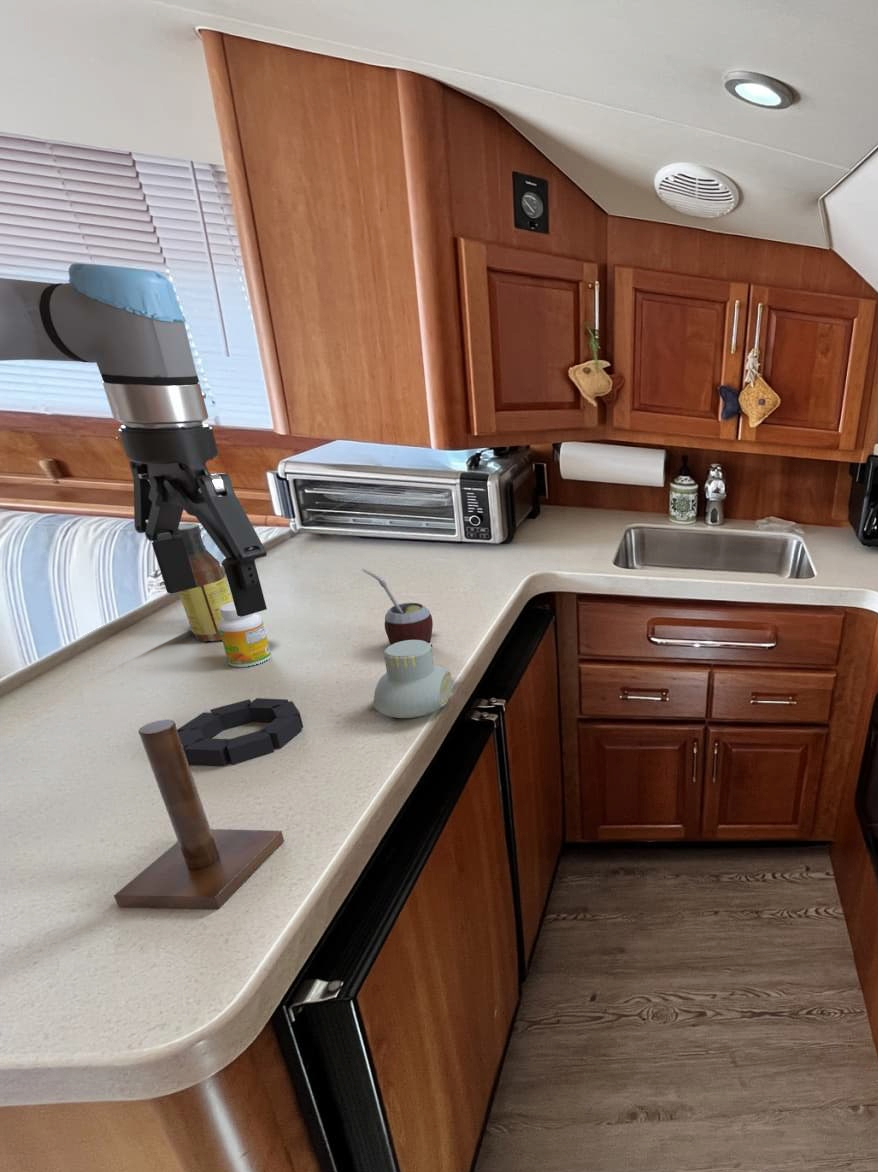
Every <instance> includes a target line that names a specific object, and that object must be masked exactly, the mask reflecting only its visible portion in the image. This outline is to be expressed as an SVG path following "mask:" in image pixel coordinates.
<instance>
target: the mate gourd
mask: <svg viewBox="0 0 878 1172" xmlns="http://www.w3.org/2000/svg"><path fill="white" fill-rule="evenodd" d="M361 571H362V572H364V573H366V574H367V575H369V576H371V577H373V578H374V579H375V580H377V581H378V582H379V585H380V586H381V588H383V589H384V591H385V592H386V594H387V597H389V599H390V600H391V602H392V604H393V606H392V607H390V608H389V609H388V610H387V611H386V614H385V617H384V630H385V634H386V636H387V640H388V642H389V644H390V645H392V644H394V643H397V642H401V641H406V640H422V641H425V642H427V643H430V642H432V634H433V628H434V627H433V626H434V621H433V617H432V614H431V611H430V610H429V609H428V608H427V607H426V606H424V605H423V604H422V603H419V602H404V603H399V604H398V602H397V601H396V599H395V597H394V595H393V594H392V592H391V591H390V589H389V587H388V584H387V582H386V581H385V579H382V578H381V577H380V576H379V575H377V574H376V573H373V572H371V571H369V570H367V569H365V568H362V569H361Z"/></svg>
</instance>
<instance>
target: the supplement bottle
mask: <svg viewBox="0 0 878 1172" xmlns="http://www.w3.org/2000/svg"><path fill="white" fill-rule="evenodd" d="M219 609H220V613H221V616H222V617H223V619H222V620H221V621H220V622H219V623H218V627H219V631H220V634H221V638H222V641H221V642H222V646H223V648H224V652H225V656H226V660H227V663H228V665H230V666H231V667H234V668H249V667H248V666H250V667H253V666H252V665H255V666H257V665H256V664H258V665H261V664H263V663H265V662H267V661H268V660H270V659H271V657H272V651H271V647H270V644H269V640H268V637H267V632H266V629H265V624H264V621H263V618H262V616H261V615H259V614H257V613H253V614H250V615H246V616H243V617H240V616H237V612H236V609H235V605H234V601H233V602H231V603H227V604H224V605H222V606H221V607H220V608H219ZM266 660H267V661H266ZM264 661H265V662H264ZM262 662H263V663H262ZM260 663H261V664H260Z"/></svg>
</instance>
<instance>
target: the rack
mask: <svg viewBox="0 0 878 1172" xmlns="http://www.w3.org/2000/svg"><path fill="white" fill-rule="evenodd" d="M177 729H178V728H177V724H176V721H174V720H172V719H161V720H155V721H151V722H149V723H147V724H145V725H143V726H141V727H140V728H139V729H138V735H139V738H140V740H141V743H142V745H143V748H144V751H145V754H146V757H147V759H148V762H149V765H150V768H151V770H152V773H153V776H154V779H155V782H156V784H157V787H158V790H159V792H160V795H161V799H162V801H163V804H164V807H165V810H166V812H167V815H168V817H169V821H170V823H171V826H172V829H173V832H174V834H175V837H176V839H177V841H176V842H175V843H174V844H173V845H172V846H171V847H169V848H168V849H167V850H166V851H165V852H164V853H162V854H161V855H160V856H159V857H158V858H156V859H155V860H154V861H153V862H151V864H149V865H148V866H147V867H146V868H144V870H142V872H140V873H138V875H136V876H135V877H134V878H132V880H130V881H129V882H128V883H127V884H126V885H125V886H123V887H122V888H121V889H120V890H119V891H117V893H115V894H114V895H113V897H114V900H115V902H116V905H117V907H118V908H138V909H139V908H140V909H141V908H142V909H196V910H197V909H198V910H199V909H200V910H201V909H202V910H203V909H204V910H205V909H207V910H210V909H211V910H219V909H221V907H222V906H223V905H224V904H225V903H227V901H228V900H229V899H230V898H231V897H232V896H233V895H234V894H235V893H236V892H237V891H238V890H239V889H240V888H241V887H242V886H243V885H244V884H245V883H246V881H248V880H249V878H250V877H251V876H253V874H255V872H256V871H257V870H258V869H260V868H261V866H262V865H263V864H264V863H266V861H267V860H268V859H269V858H270V857H271V856H272V855H273V853H275V852H276V850H278V849H279V847H281V845H283V844H284V842H285V838H284V835H283V831H282V830H268V829H267V830H266V829H263V830H262V829H234V828H233V829H231V828H230V829H229V828H227V829H226V828H225V829H224V828H211V826H210V824H209V820H208V818H207V814H206V812H205V808H204V806H203V803H202V800H201V797H200V793H199V791H198V787H197V784H196V782H195V778H194V776H193V772H192V770H191V767H190V766H191V765H189V763H188V761H187V758H186V755H185V752H184V749H183V746H182V743H181V740H180V737H179V734H178V731H177Z"/></svg>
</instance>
